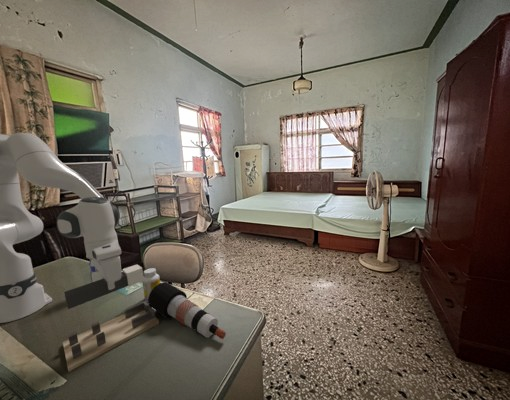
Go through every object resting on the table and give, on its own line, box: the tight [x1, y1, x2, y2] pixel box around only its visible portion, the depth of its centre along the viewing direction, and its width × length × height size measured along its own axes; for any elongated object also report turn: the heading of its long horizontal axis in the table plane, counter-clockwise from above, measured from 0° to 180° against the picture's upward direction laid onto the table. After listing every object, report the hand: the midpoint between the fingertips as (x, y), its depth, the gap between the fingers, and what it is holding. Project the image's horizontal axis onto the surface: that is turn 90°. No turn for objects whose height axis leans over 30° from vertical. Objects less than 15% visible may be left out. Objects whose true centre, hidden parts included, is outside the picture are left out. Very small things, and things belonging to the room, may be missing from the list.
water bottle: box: [85, 255, 103, 283], centre depth 102 cm, size 8×9×25 cm
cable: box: [147, 281, 227, 340], centre depth 77 cm, size 10×34×10 cm, turn 54°
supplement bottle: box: [141, 267, 161, 303], centre depth 93 cm, size 7×7×13 cm
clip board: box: [62, 300, 160, 373], centre depth 73 cm, size 14×25×4 cm, turn 136°
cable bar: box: [64, 264, 145, 310], centre depth 72 cm, size 5×21×5 cm, turn 137°
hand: (109, 285), depth 72 cm, fingers closed on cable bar, 4 cm apart
